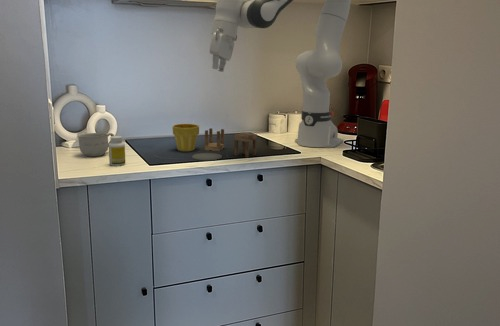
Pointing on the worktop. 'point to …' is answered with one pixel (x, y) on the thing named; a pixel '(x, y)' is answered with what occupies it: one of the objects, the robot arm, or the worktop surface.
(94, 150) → the teacup
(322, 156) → the worktop surface
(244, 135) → the stool
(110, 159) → the supplement bottle
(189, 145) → the plant pot
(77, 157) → the worktop surface
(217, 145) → the upturned stool
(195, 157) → the mat
